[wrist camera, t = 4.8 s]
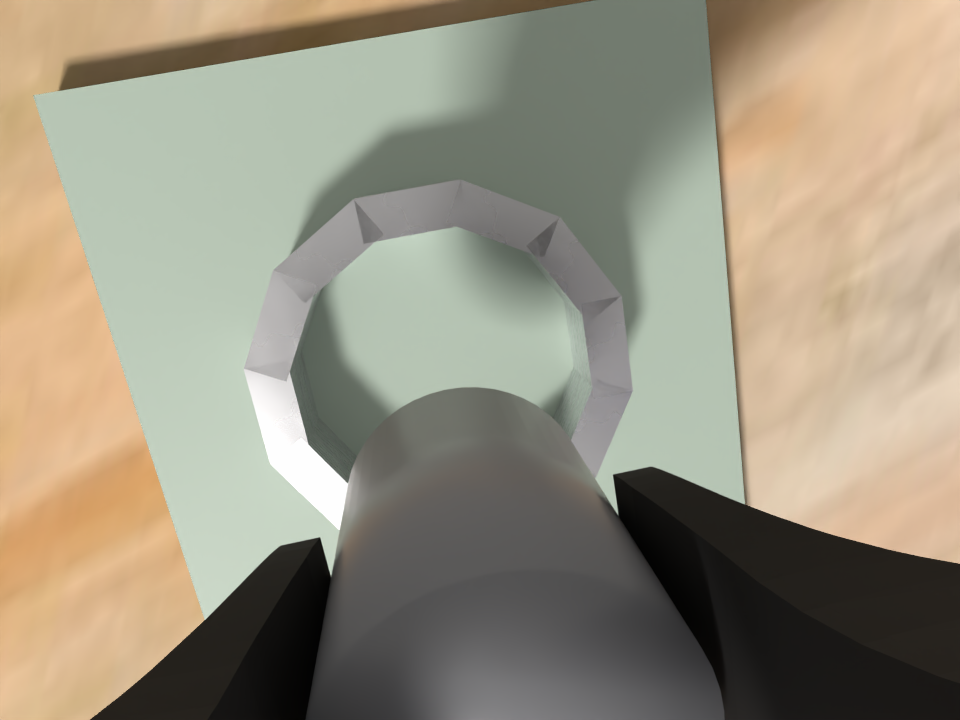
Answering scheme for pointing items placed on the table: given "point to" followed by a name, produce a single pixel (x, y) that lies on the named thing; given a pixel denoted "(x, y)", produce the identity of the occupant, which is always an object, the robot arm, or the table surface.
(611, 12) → the plate
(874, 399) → the table surface
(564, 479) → the grey rounded block
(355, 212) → the duct collar
